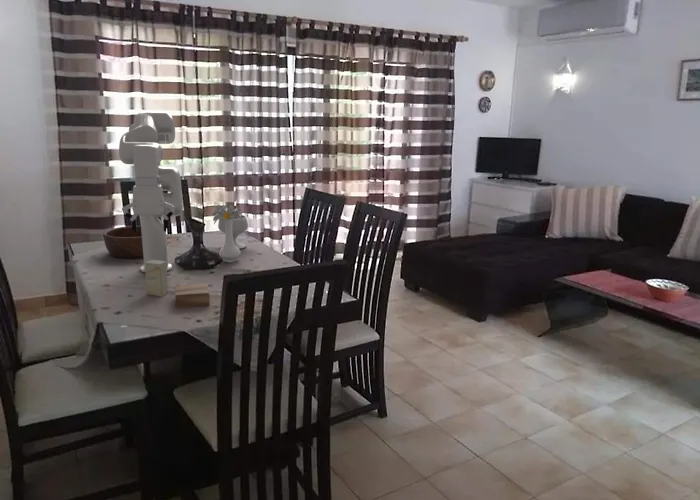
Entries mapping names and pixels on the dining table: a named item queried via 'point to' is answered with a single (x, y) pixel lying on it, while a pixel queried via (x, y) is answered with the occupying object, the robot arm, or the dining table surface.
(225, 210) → the flower vase
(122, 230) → the wooden bowl
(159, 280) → the skincare box
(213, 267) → the dining table surface
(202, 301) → the light wood square block
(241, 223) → the chalice
